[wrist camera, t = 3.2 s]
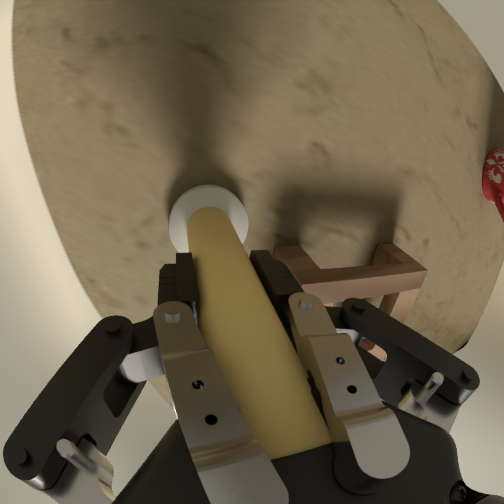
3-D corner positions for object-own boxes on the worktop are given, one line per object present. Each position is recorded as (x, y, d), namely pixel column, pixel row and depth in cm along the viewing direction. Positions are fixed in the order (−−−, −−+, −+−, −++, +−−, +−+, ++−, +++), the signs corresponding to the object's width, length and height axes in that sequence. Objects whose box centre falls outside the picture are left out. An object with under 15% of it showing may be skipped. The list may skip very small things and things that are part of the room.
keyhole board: (274, 246, 20) (302, 284, 16) (392, 243, 23) (427, 270, 19) (251, 388, 28) (263, 424, 24) (341, 369, 31) (358, 397, 27)
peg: (169, 184, 16) (159, 450, 3) (247, 184, 17) (419, 383, 4) (170, 255, 18) (190, 497, 5) (241, 253, 19) (341, 464, 7)
